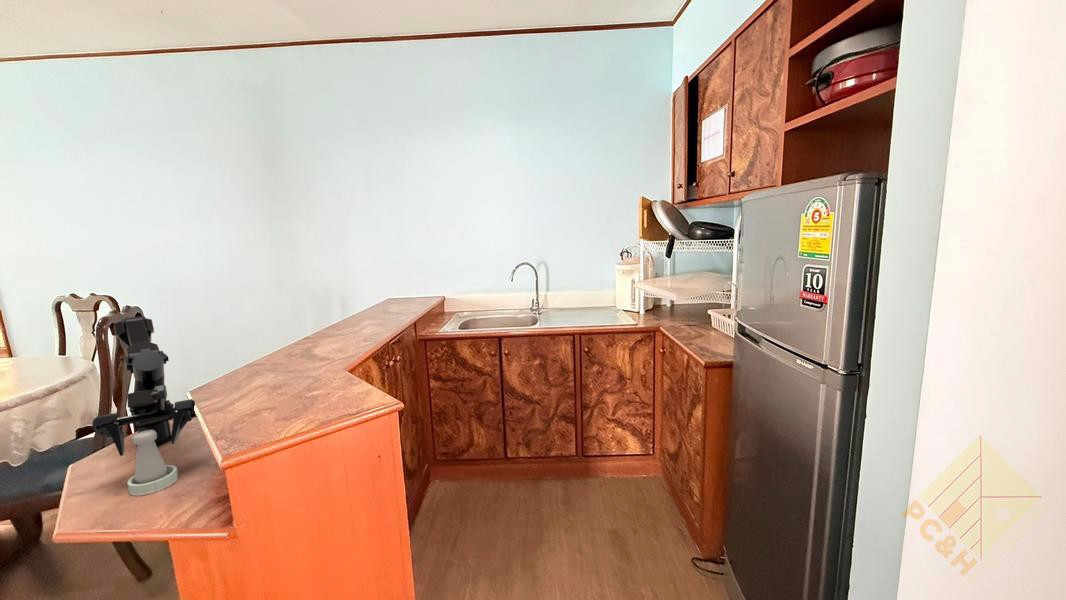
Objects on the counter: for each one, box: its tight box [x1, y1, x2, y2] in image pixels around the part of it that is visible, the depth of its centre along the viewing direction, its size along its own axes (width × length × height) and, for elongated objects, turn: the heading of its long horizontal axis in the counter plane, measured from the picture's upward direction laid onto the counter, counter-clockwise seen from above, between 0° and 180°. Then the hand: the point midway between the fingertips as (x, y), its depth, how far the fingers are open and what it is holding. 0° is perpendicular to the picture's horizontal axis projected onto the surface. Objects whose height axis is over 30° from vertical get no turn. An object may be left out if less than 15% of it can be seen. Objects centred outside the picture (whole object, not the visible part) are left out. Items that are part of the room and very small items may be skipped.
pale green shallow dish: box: [126, 464, 179, 497], centre depth 101 cm, size 9×9×2 cm
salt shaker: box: [132, 430, 167, 484], centre depth 101 cm, size 6×6×13 cm
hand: (147, 449), depth 100 cm, fingers open, 9 cm apart
